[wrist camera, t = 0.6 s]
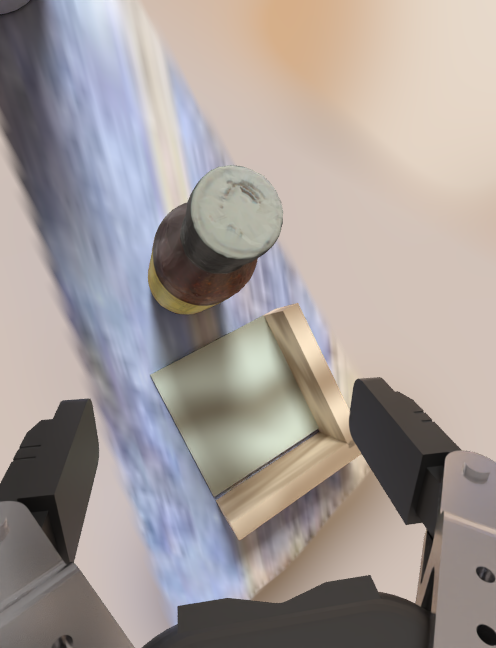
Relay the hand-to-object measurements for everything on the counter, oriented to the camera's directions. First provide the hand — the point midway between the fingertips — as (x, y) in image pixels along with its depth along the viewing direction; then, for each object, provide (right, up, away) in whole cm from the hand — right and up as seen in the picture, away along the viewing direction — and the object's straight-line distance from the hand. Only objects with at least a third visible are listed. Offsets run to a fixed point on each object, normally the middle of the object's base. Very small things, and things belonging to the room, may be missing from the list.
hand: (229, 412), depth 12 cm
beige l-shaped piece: (+1, -5, +24) cm, 25 cm away
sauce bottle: (-5, +6, +23) cm, 25 cm away
